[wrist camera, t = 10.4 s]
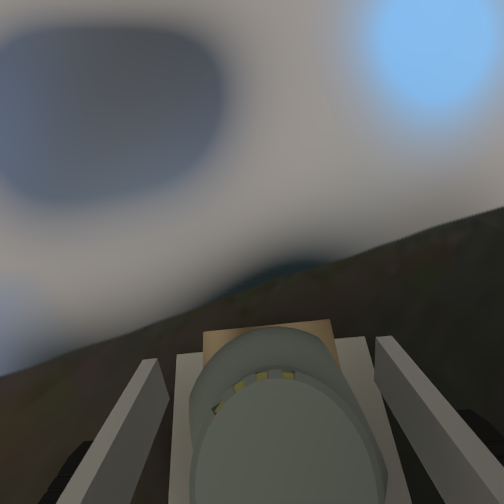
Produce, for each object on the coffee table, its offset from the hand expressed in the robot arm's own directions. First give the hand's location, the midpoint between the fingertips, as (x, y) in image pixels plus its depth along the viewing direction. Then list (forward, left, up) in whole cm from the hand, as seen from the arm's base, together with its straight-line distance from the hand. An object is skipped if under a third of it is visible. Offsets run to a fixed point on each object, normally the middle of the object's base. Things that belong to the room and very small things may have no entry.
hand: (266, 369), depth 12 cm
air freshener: (0, +3, -6) cm, 7 cm away
